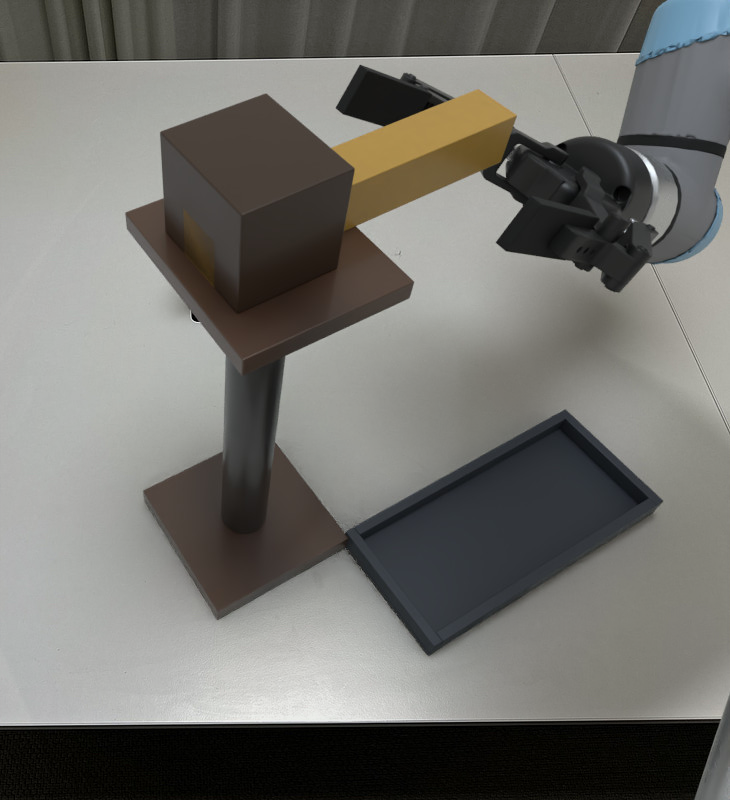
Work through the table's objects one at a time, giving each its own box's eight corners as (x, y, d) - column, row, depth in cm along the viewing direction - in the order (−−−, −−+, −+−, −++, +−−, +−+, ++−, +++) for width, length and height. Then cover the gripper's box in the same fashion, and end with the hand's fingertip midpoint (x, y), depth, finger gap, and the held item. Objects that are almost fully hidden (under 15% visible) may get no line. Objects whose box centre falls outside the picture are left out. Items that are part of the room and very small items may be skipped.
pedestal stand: (264, 440, 69) (294, 148, 45) (346, 547, 63) (431, 274, 39) (144, 500, 66) (107, 218, 42) (217, 620, 60) (223, 369, 36)
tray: (557, 421, 70) (565, 408, 69) (652, 512, 65) (664, 500, 63) (342, 542, 63) (345, 531, 62) (428, 656, 58) (434, 646, 56)
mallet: (441, 118, 47) (467, 19, 42) (527, 181, 43) (566, 80, 39) (164, 231, 41) (158, 131, 36) (237, 314, 38) (241, 215, 33)
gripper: (703, 355, 51) (551, 358, 38) (448, 154, 65) (267, 101, 51) (800, 260, 47) (670, 225, 33) (507, 66, 60) (327, -16, 47)
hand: (427, 150), depth 42 cm, fingers open, 13 cm apart
